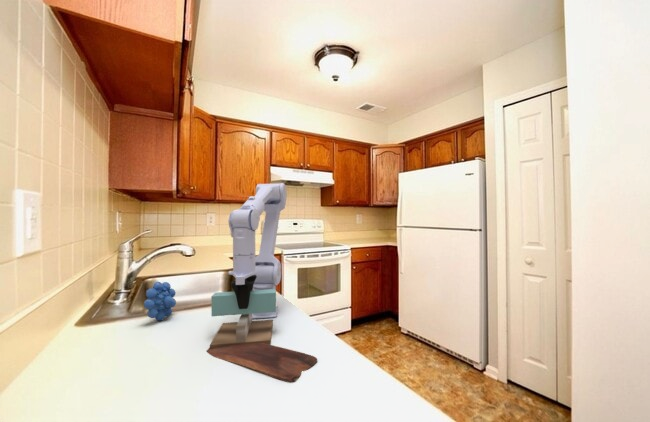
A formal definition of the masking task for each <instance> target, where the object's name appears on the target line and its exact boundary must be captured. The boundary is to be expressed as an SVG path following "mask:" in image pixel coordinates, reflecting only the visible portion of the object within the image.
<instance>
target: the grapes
mask: <svg viewBox="0 0 650 422" xmlns="http://www.w3.org/2000/svg"><path fill="white" fill-rule="evenodd" d="M171 287H172V286H171V284H170V283H169V282H167V281H164V282H161V281H156V282H154V283H153V285H152V287H150V288H148V289H147V290H146V292H145V296H146V297H147V299H145V300H144V302H143V307H144V308H145V309H146V310H147V311H146V313H147V316H148V317H149V318H150V319H155V320H156V321H159V322H161V321H164V319H165V318H166V317H170V316H171V315H172V313H173V309H172V308H174V307H175V306H176V304H177V300H176V299H175V298H174V297H175V296H176V290H175V289H174V288H171Z"/></svg>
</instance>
